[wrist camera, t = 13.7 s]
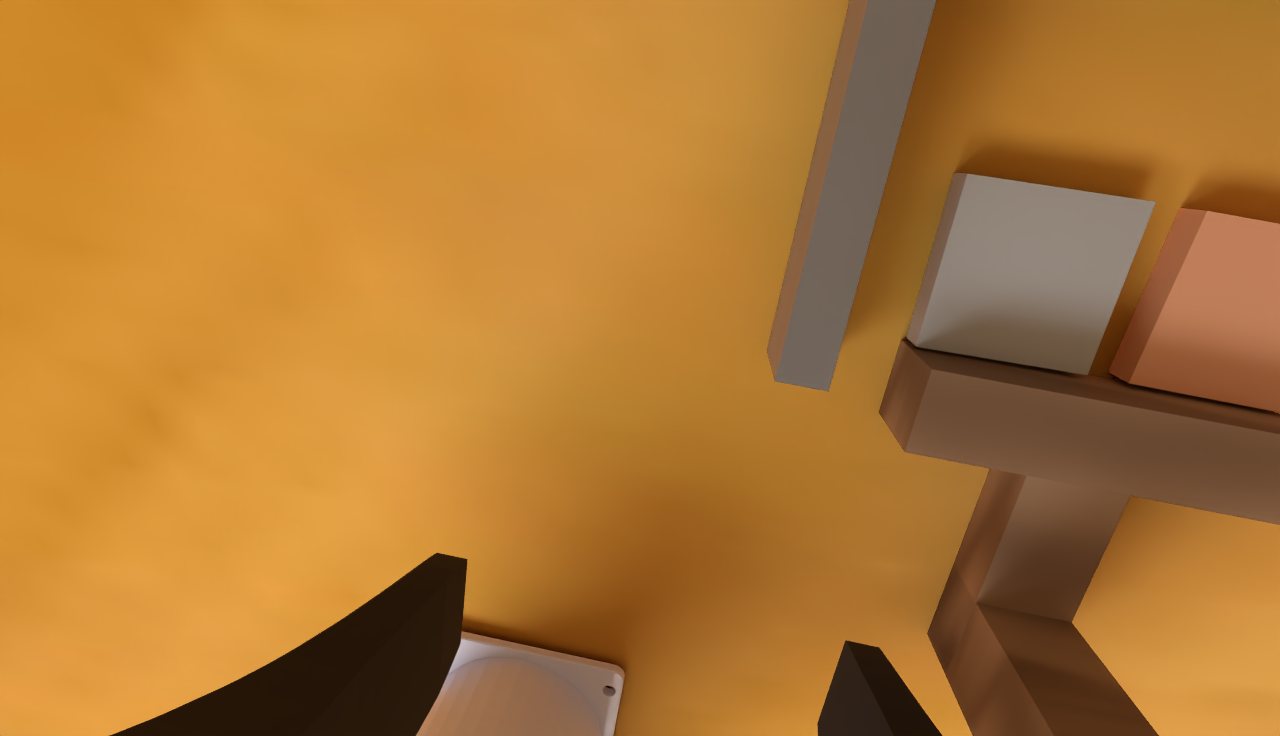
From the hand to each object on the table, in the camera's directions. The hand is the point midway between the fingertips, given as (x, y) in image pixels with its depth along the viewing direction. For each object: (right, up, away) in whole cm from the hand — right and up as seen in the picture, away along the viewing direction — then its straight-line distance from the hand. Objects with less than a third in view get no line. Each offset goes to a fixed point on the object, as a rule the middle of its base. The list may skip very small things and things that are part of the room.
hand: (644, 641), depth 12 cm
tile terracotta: (+17, +7, +7) cm, 20 cm away
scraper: (+13, 0, +9) cm, 16 cm away
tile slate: (+11, +8, +8) cm, 16 cm away
